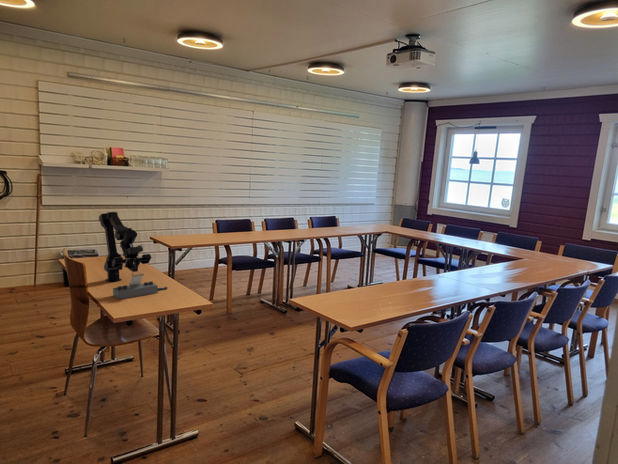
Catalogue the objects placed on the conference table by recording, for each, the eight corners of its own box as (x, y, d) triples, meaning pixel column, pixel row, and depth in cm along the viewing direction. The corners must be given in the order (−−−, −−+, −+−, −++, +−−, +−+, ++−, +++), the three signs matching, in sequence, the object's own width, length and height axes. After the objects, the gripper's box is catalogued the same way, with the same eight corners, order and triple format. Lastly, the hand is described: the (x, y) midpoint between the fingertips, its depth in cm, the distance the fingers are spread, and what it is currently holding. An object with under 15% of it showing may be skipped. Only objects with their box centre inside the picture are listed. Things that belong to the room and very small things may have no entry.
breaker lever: (128, 284, 223) (132, 272, 218) (139, 282, 227) (142, 270, 222) (129, 287, 222) (133, 274, 217) (140, 285, 226) (144, 273, 221)
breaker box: (113, 295, 220) (112, 285, 219) (163, 287, 238) (163, 277, 238) (118, 299, 214) (118, 289, 213) (170, 290, 233) (170, 280, 232)
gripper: (113, 242, 216) (121, 267, 210) (149, 238, 229) (158, 263, 222) (108, 254, 223) (116, 279, 217) (144, 250, 235) (152, 274, 229)
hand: (136, 274), depth 221 cm, fingers closed, pressing on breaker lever
